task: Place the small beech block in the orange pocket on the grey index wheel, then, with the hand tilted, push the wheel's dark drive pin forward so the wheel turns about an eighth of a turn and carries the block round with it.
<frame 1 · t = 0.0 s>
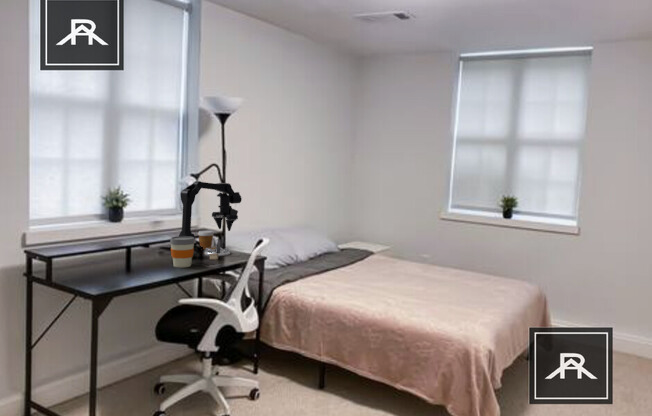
hand: (224, 230, 316), 15 cm above the table, tool pointing down, fingers open, 9 cm apart
reusable coffee cup: (182, 266, 282), on the table
disposable coffee cup: (205, 251, 327), on the table
link block: (213, 261, 297), on the table
index wheel: (217, 245, 311), point 6 cm above the table, hinge at 0.0°
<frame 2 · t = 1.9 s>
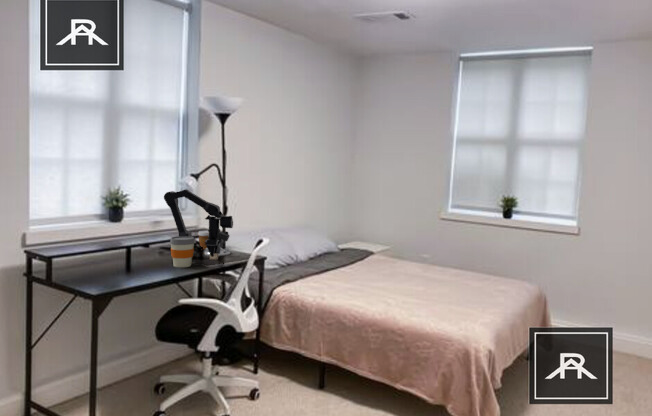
hand: (213, 255, 296), 3 cm above the table, tool pointing down, fingers open, 8 cm apart
index wheel: (217, 245, 311), point 6 cm above the table, hinge at 0.0°, touching gripper
everything else where it was.
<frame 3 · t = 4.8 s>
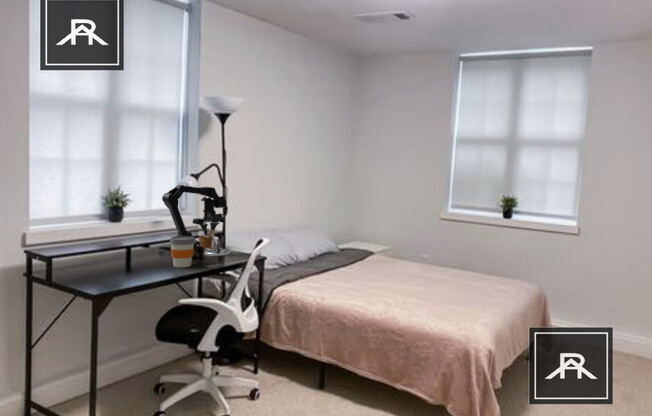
hand: (208, 235, 308), 13 cm above the table, tool pointing down, fingers closed on link block, 4 cm apart
link block: (209, 236, 308), point 12 cm above the table, touching gripper
index wheel: (217, 245, 311), point 6 cm above the table, hinge at 0.0°
everything else where it was.
when the fingers open (5 cm above the table, at t = 6.8 s): link block drops 1 cm, resting on index wheel.
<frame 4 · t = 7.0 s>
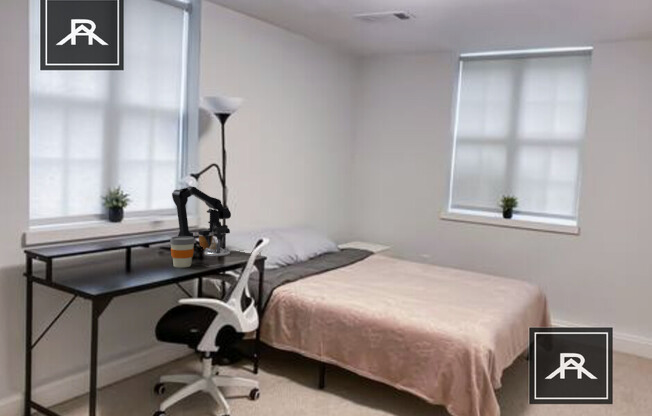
hand: (214, 246, 314), 5 cm above the table, tool pointing down, fingers open, 6 cm apart
link block: (214, 249, 314), point 3 cm above the table, touching index wheel
index wheel: (217, 245, 311), point 6 cm above the table, hinge at 0.0°, touching link block
everything else where it was.
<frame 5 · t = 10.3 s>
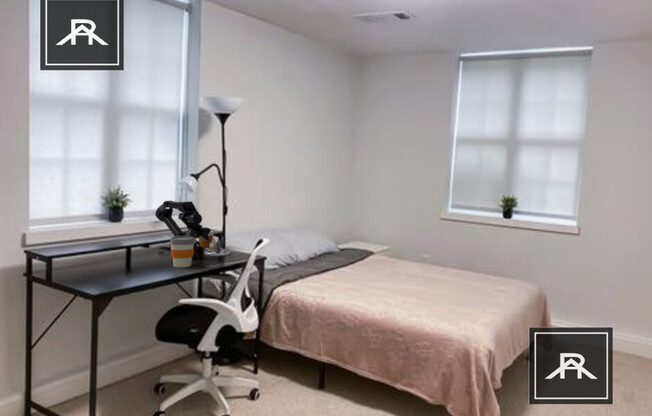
hand: (208, 240, 301), 11 cm above the table, tool tilted 45°, fingers closed
nothing on the table moved.
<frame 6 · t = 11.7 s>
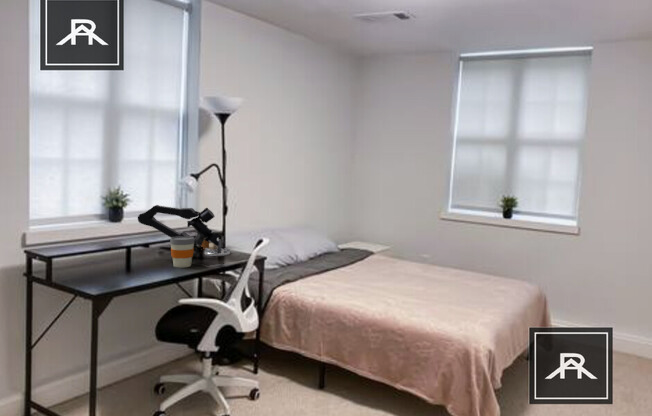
hand: (217, 245, 304), 8 cm above the table, tool tilted 45°, fingers closed
index wheel: (217, 245, 311), point 6 cm above the table, hinge at 4.6°, touching gripper, link block
everything else where it was.
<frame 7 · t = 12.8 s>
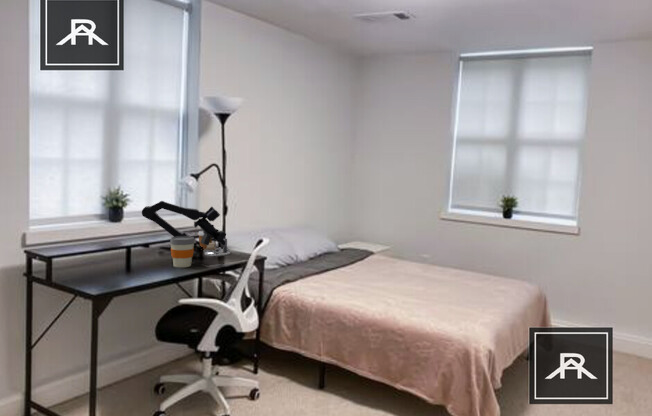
hand: (224, 244, 306), 8 cm above the table, tool tilted 45°, fingers closed, pressing on index wheel
link block: (211, 250, 312), point 3 cm above the table, touching index wheel
index wheel: (217, 245, 311), point 6 cm above the table, hinge at 42.4°, touching gripper, link block
everything else where it was.
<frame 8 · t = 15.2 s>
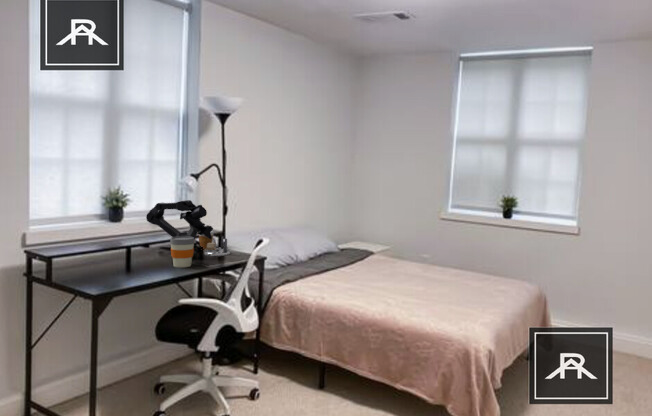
hand: (211, 238, 302), 12 cm above the table, tool tilted 45°, fingers closed
index wheel: (217, 245, 311), point 6 cm above the table, hinge at 42.7°, touching link block
everything else where it was.
at the end: index wheel at +43° (first picture: +0°); link block 3.8 cm from the index wheel (horizontally); link block point 3.2 cm above the table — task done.
